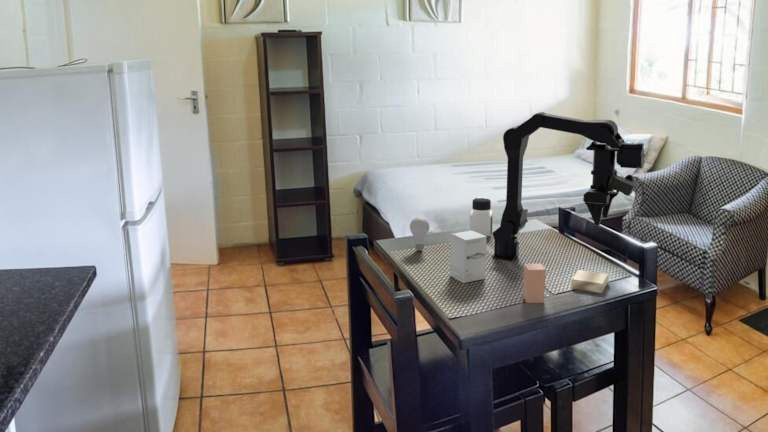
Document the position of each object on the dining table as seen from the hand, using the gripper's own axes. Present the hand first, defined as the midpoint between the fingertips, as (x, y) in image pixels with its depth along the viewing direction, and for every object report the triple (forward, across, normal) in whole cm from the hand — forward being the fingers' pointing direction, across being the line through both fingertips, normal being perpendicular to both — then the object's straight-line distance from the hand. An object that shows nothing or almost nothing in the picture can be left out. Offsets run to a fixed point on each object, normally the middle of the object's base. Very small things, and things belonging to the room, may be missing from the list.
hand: (601, 221), depth 198 cm
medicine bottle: (+14, +19, +44) cm, 50 cm away
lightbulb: (+14, -7, +54) cm, 56 cm away
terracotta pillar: (+15, -29, +10) cm, 34 cm away
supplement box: (+14, -22, +31) cm, 41 cm away
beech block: (+15, -13, 0) cm, 20 cm away
